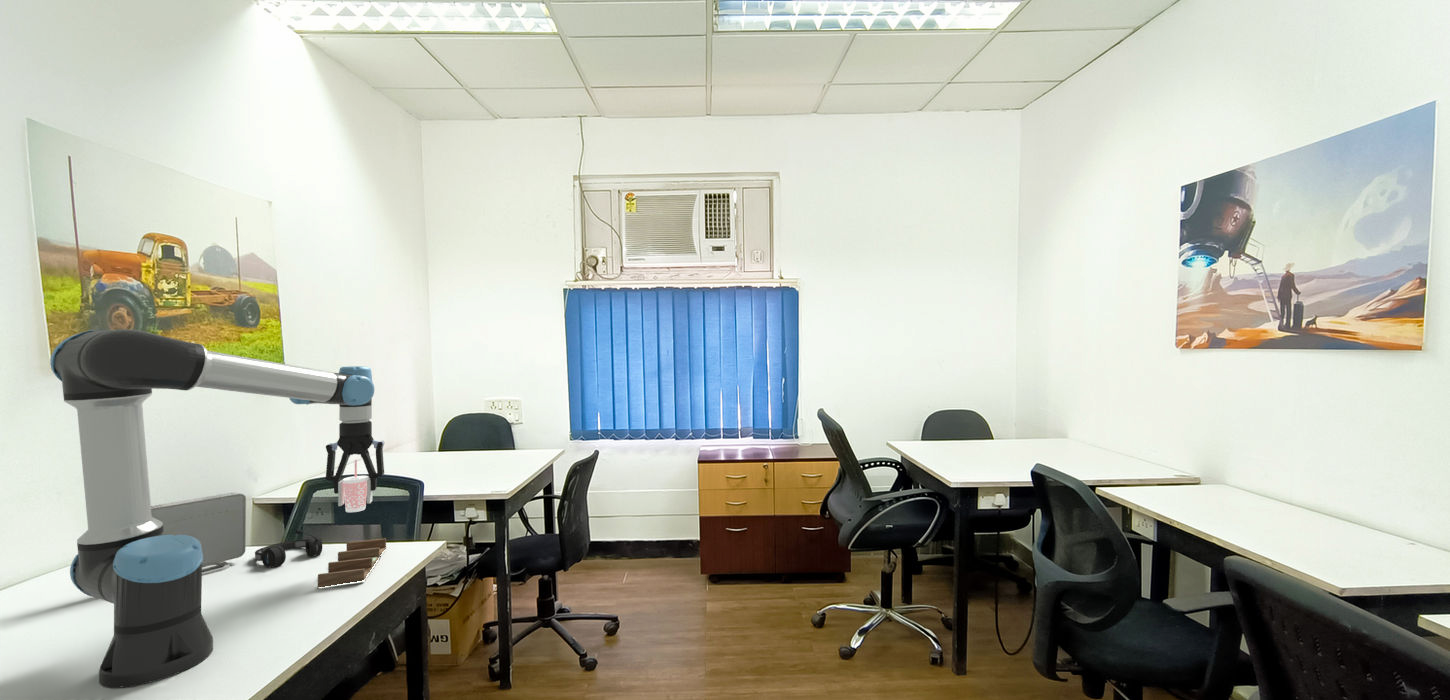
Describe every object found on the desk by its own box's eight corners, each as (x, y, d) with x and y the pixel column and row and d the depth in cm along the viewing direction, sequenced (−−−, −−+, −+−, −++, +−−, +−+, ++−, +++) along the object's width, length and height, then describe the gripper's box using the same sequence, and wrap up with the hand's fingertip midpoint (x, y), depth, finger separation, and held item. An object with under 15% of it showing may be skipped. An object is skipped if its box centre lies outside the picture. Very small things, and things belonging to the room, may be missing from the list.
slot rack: (363, 582, 141) (363, 569, 141) (317, 589, 137) (317, 575, 137) (386, 549, 165) (386, 538, 165) (347, 554, 161) (347, 542, 161)
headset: (274, 535, 148) (246, 531, 158) (275, 571, 147) (247, 564, 157) (330, 522, 159) (300, 519, 169) (332, 555, 158) (302, 550, 169)
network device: (114, 598, 132) (115, 516, 132) (106, 590, 136) (106, 511, 136) (248, 563, 153) (248, 493, 154) (236, 557, 158) (237, 489, 158)
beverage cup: (347, 514, 147) (347, 463, 147) (338, 510, 150) (338, 460, 150) (372, 509, 152) (372, 459, 152) (363, 505, 155) (363, 457, 155)
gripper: (397, 418, 158) (397, 496, 158) (319, 421, 151) (319, 503, 151) (391, 421, 151) (391, 503, 151) (310, 424, 144) (309, 510, 144)
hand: (355, 503), depth 151 cm, fingers closed on beverage cup, 6 cm apart
